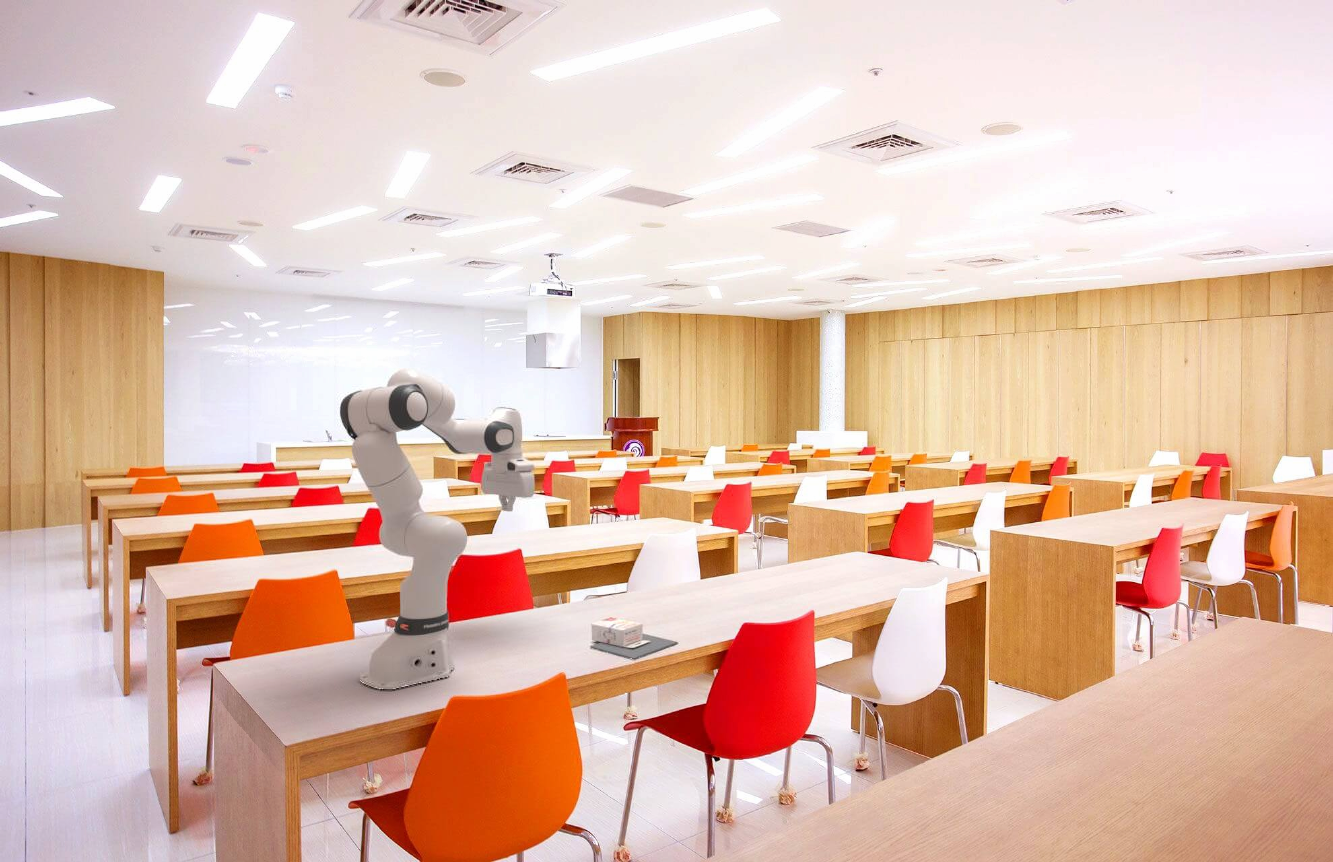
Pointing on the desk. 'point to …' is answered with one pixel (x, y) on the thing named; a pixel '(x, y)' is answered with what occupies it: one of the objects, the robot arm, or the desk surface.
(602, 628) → the ink cartridge box
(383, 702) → the desk surface
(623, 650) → the rubber mat
